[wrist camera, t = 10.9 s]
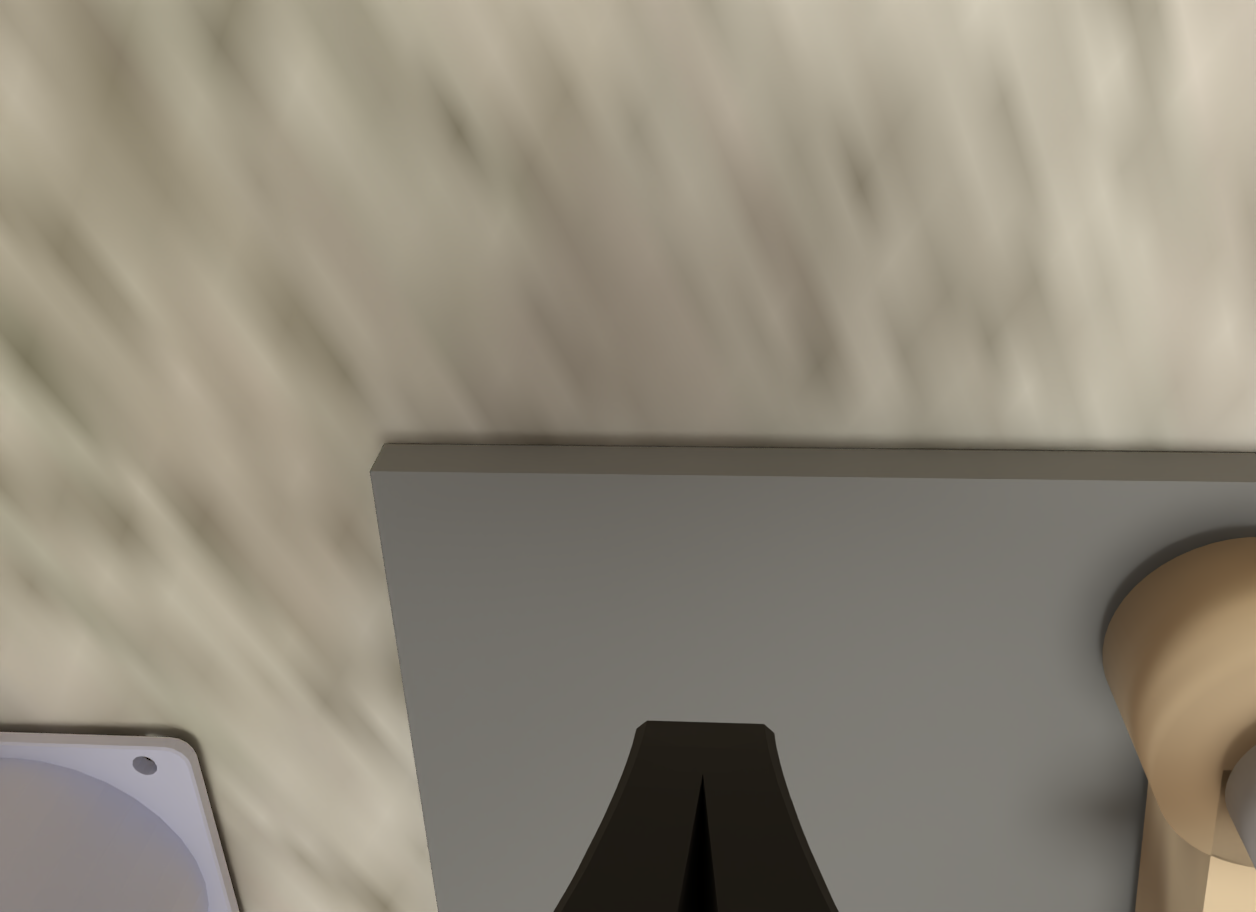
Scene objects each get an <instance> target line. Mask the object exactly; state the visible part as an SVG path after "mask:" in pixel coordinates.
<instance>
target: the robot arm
mask: <svg viewBox="0 0 1256 912" xmlns="http://www.w3.org/2000/svg"><path fill="white" fill-rule="evenodd" d="M145 757H148V758H150V759H151V760H153V761H149V760H148V759H146V758H145ZM0 912H239V908H238V905H237V901H236V897H235V894H234V890H233V886H232V883H231V879H230V875H229V872H228V868H227V864H226V861H225V857H224V853H223V850H222V846H221V842H220V839H219V835H218V831H217V828H216V824H215V820H214V817H213V813H212V809H211V805H210V802H209V798H208V794H207V791H206V787H205V783H204V780H203V776H202V772H201V769H200V765H199V761H198V758H197V755H196V753H195V751H194V749H193V748H192V747H191V746H190V745H189V744H188V743H187V742H185V741H183V740H181V739H178V738H172V737H151V736H119V735H87V734H55V733H23V732H0ZM553 912H839V911H838V909H837V907H836V905H835V903H834V901H833V899H832V897H831V894H830V892H829V890H828V888H827V885H826V883H825V881H824V879H823V876H822V874H821V872H820V870H819V867H818V865H817V863H816V861H815V858H814V856H813V854H812V852H811V849H810V847H809V845H808V842H807V840H806V837H805V835H804V832H803V830H802V827H801V825H800V822H799V819H798V816H797V813H796V811H795V808H794V805H793V802H792V800H791V797H790V794H789V791H788V788H787V784H786V781H785V778H784V775H783V771H782V768H781V764H780V760H779V755H778V751H777V747H776V741H775V733H774V732H773V731H772V730H770V729H769V728H768V727H767V726H766V725H765V724H751V723H717V722H683V721H648V720H647V721H646V722H644V723H643V724H642V725H640V726H639V727H638V728H636V732H635V736H634V740H633V744H632V747H631V750H630V753H629V756H628V759H627V762H626V765H625V768H624V770H623V773H622V775H621V778H620V780H619V783H618V785H617V788H616V790H615V793H614V795H613V797H612V799H611V802H610V804H609V806H608V808H607V811H606V813H605V815H604V817H603V820H602V822H601V824H600V826H599V828H598V830H597V832H596V834H595V836H594V838H593V840H592V842H591V843H590V845H589V847H588V849H587V851H586V853H585V855H584V857H583V859H582V861H581V863H580V865H579V867H578V869H577V871H576V873H575V875H574V877H573V879H572V880H571V882H570V884H569V886H568V888H567V889H566V891H565V893H564V894H563V896H562V898H561V899H560V901H559V903H558V905H557V906H556V908H555V910H554V911H553Z"/></svg>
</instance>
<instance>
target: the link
mask: <svg viewBox="0 0 1256 912" xmlns="http://www.w3.org/2000/svg"><path fill="white" fill-rule="evenodd" d="M1102 652H1103V668H1104V673H1105V677H1106V679H1107V682H1108V685H1109V687H1110V690H1111V692H1112V695H1113V697H1114V699H1115V702H1116V704H1117V707H1118V709H1119V711H1120V714H1121V716H1122V719H1123V721H1124V723H1125V726H1126V728H1127V731H1128V733H1129V735H1130V738H1131V740H1132V743H1133V745H1134V747H1135V750H1136V752H1137V755H1138V757H1139V759H1140V762H1141V764H1142V767H1143V769H1144V771H1145V774H1146V776H1147V779H1148V790H1147V799H1146V809H1145V819H1144V829H1143V839H1142V848H1141V858H1140V868H1139V878H1138V887H1137V897H1136V907H1135V912H1256V869H1255V867H1254V865H1253V863H1252V861H1251V859H1250V857H1249V854H1248V852H1247V850H1246V848H1245V846H1244V844H1243V842H1242V840H1241V838H1240V836H1239V834H1238V832H1237V829H1236V827H1235V825H1234V823H1233V821H1232V819H1231V817H1230V815H1229V812H1228V810H1227V807H1226V802H1225V789H1226V784H1227V781H1228V778H1229V776H1230V774H1231V772H1232V770H1233V768H1234V767H1235V765H1236V764H1237V763H1238V761H1239V760H1240V759H1241V758H1242V757H1243V756H1244V755H1245V754H1246V753H1247V752H1248V751H1249V750H1250V749H1251V748H1252V747H1254V746H1255V745H1256V537H1245V538H1237V539H1229V540H1225V541H1220V542H1216V543H1211V544H1208V545H1205V546H1202V547H1199V548H1196V549H1193V550H1191V551H1189V552H1186V553H1184V554H1182V555H1180V556H1177V557H1176V558H1174V559H1172V560H1170V561H1168V562H1167V563H1165V564H1163V565H1161V566H1160V567H1159V568H1157V569H1156V570H1154V571H1153V572H1151V573H1150V574H1149V575H1147V576H1146V577H1145V578H1144V579H1143V580H1142V581H1141V582H1139V583H1138V584H1137V585H1136V586H1135V587H1134V588H1133V589H1132V590H1131V591H1130V593H1129V594H1128V595H1127V596H1126V597H1125V598H1124V599H1123V601H1122V602H1121V604H1120V605H1119V607H1118V608H1117V610H1116V611H1115V613H1114V615H1113V617H1112V619H1111V621H1110V623H1109V625H1108V628H1107V631H1106V634H1105V638H1104V644H1103V650H1102Z"/></svg>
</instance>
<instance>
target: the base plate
mask: <svg viewBox="0 0 1256 912" xmlns="http://www.w3.org/2000/svg"><path fill="white" fill-rule="evenodd" d="M370 476H371V482H372V488H373V495H374V501H375V508H376V514H377V521H378V527H379V534H380V540H381V546H382V553H383V559H384V566H385V572H386V579H387V585H388V592H389V598H390V605H391V611H392V617H393V624H394V630H395V637H396V643H397V650H398V656H399V663H400V669H401V675H402V682H403V688H404V695H405V701H406V708H407V714H408V721H409V727H410V733H411V740H412V746H413V753H414V759H415V766H416V772H417V779H418V785H419V792H420V798H421V804H422V811H423V817H424V824H425V830H426V837H427V843H428V850H429V856H430V862H431V869H432V875H433V882H434V888H435V895H436V901H437V908H438V912H553V911H554V910H555V908H556V906H557V905H558V903H559V901H560V899H561V898H562V896H563V894H564V893H565V891H566V889H567V888H568V886H569V884H570V882H571V880H572V879H573V877H574V875H575V873H576V871H577V869H578V867H579V865H580V863H581V861H582V859H583V857H584V855H585V853H586V851H587V849H588V847H589V845H590V843H591V842H592V840H593V838H594V836H595V834H596V832H597V830H598V828H599V826H600V824H601V822H602V820H603V817H604V815H605V813H606V811H607V808H608V806H609V804H610V802H611V799H612V797H613V795H614V793H615V790H616V788H617V785H618V783H619V780H620V778H621V775H622V773H623V770H624V768H625V765H626V762H627V759H628V756H629V753H630V750H631V747H632V744H633V740H634V736H635V732H636V728H638V727H639V726H640V725H642V724H643V723H644V722H646V721H647V720H648V721H683V722H717V723H751V724H765V725H766V726H767V727H768V728H769V729H770V730H772V731H773V732H774V733H775V741H776V747H777V751H778V755H779V760H780V764H781V768H782V771H783V775H784V778H785V781H786V784H787V788H788V791H789V794H790V797H791V800H792V802H793V805H794V808H795V811H796V813H797V816H798V819H799V822H800V825H801V827H802V830H803V832H804V835H805V837H806V840H807V842H808V845H809V847H810V849H811V852H812V854H813V856H814V858H815V861H816V863H817V865H818V867H819V870H820V872H821V874H822V876H823V879H824V881H825V883H826V885H827V888H828V890H829V892H830V894H831V897H832V899H833V901H834V903H835V905H836V907H837V909H838V911H839V912H1135V907H1136V897H1137V887H1138V878H1139V868H1140V858H1141V848H1142V839H1143V829H1144V819H1145V809H1146V799H1147V790H1148V779H1147V776H1146V774H1145V771H1144V769H1143V767H1142V764H1141V762H1140V759H1139V757H1138V755H1137V752H1136V750H1135V747H1134V745H1133V743H1132V740H1131V738H1130V735H1129V733H1128V731H1127V728H1126V726H1125V723H1124V721H1123V719H1122V716H1121V714H1120V711H1119V709H1118V707H1117V704H1116V702H1115V699H1114V697H1113V695H1112V692H1111V690H1110V687H1109V685H1108V682H1107V679H1106V677H1105V673H1104V668H1103V652H1102V650H1103V644H1104V638H1105V634H1106V631H1107V628H1108V625H1109V623H1110V621H1111V619H1112V617H1113V615H1114V613H1115V611H1116V610H1117V608H1118V607H1119V605H1120V604H1121V602H1122V601H1123V599H1124V598H1125V597H1126V596H1127V595H1128V594H1129V593H1130V591H1131V590H1132V589H1133V588H1134V587H1135V586H1136V585H1137V584H1138V583H1139V582H1141V581H1142V580H1143V579H1144V578H1145V577H1146V576H1147V575H1149V574H1150V573H1151V572H1153V571H1154V570H1156V569H1157V568H1159V567H1160V566H1161V565H1163V564H1165V563H1167V562H1168V561H1170V560H1172V559H1174V558H1176V557H1177V556H1180V555H1182V554H1184V553H1186V552H1189V551H1191V550H1193V549H1196V548H1199V547H1202V546H1205V545H1208V544H1211V543H1216V542H1220V541H1225V540H1229V539H1237V538H1245V537H1256V453H1209V452H1114V451H1020V450H925V449H830V448H736V447H641V446H546V445H452V444H384V445H383V447H382V449H381V451H380V453H379V455H378V457H377V459H376V461H375V462H374V464H373V466H372V468H371V470H370ZM1225 802H1226V807H1227V810H1228V812H1229V815H1230V817H1231V819H1232V821H1233V823H1234V825H1235V827H1236V829H1237V832H1238V834H1239V836H1240V838H1241V840H1242V842H1243V844H1244V846H1245V848H1246V850H1247V852H1248V854H1249V857H1250V859H1251V861H1252V863H1253V865H1254V867H1255V869H1256V745H1255V746H1254V747H1252V748H1251V749H1250V750H1249V751H1248V752H1247V753H1246V754H1245V755H1244V756H1243V757H1242V758H1241V759H1240V760H1239V761H1238V763H1237V764H1236V765H1235V767H1234V768H1233V770H1232V772H1231V774H1230V776H1229V778H1228V781H1227V784H1226V789H1225Z"/></svg>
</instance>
